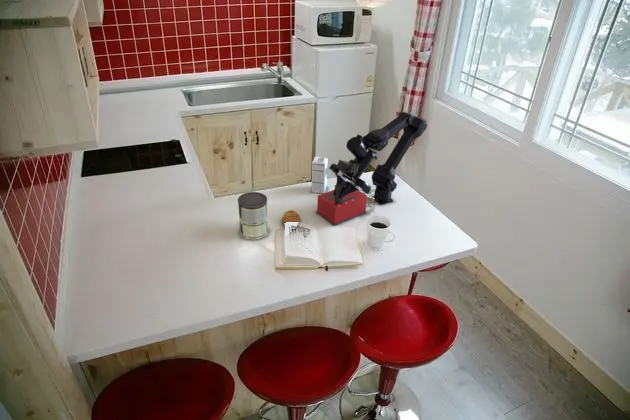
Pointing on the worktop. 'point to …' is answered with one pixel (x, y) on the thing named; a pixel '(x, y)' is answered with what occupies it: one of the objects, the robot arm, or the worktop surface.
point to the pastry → (291, 216)
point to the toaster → (341, 207)
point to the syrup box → (319, 174)
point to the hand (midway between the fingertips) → (336, 196)
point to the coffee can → (253, 215)
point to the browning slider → (337, 191)
